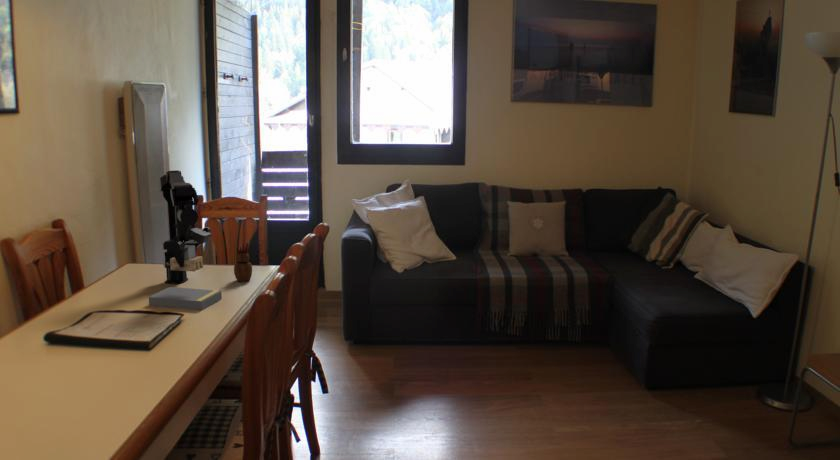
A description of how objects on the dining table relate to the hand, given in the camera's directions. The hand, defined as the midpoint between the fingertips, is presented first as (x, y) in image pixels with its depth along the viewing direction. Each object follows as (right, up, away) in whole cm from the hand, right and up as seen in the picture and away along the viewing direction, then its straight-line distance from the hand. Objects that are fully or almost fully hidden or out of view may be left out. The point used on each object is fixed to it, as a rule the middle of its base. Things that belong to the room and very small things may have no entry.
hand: (186, 265), depth 238 cm
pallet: (0, -1, 0) cm, 1 cm away
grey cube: (0, +3, 0) cm, 3 cm away
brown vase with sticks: (+13, -8, +27) cm, 31 cm away
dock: (0, -13, -1) cm, 13 cm away
